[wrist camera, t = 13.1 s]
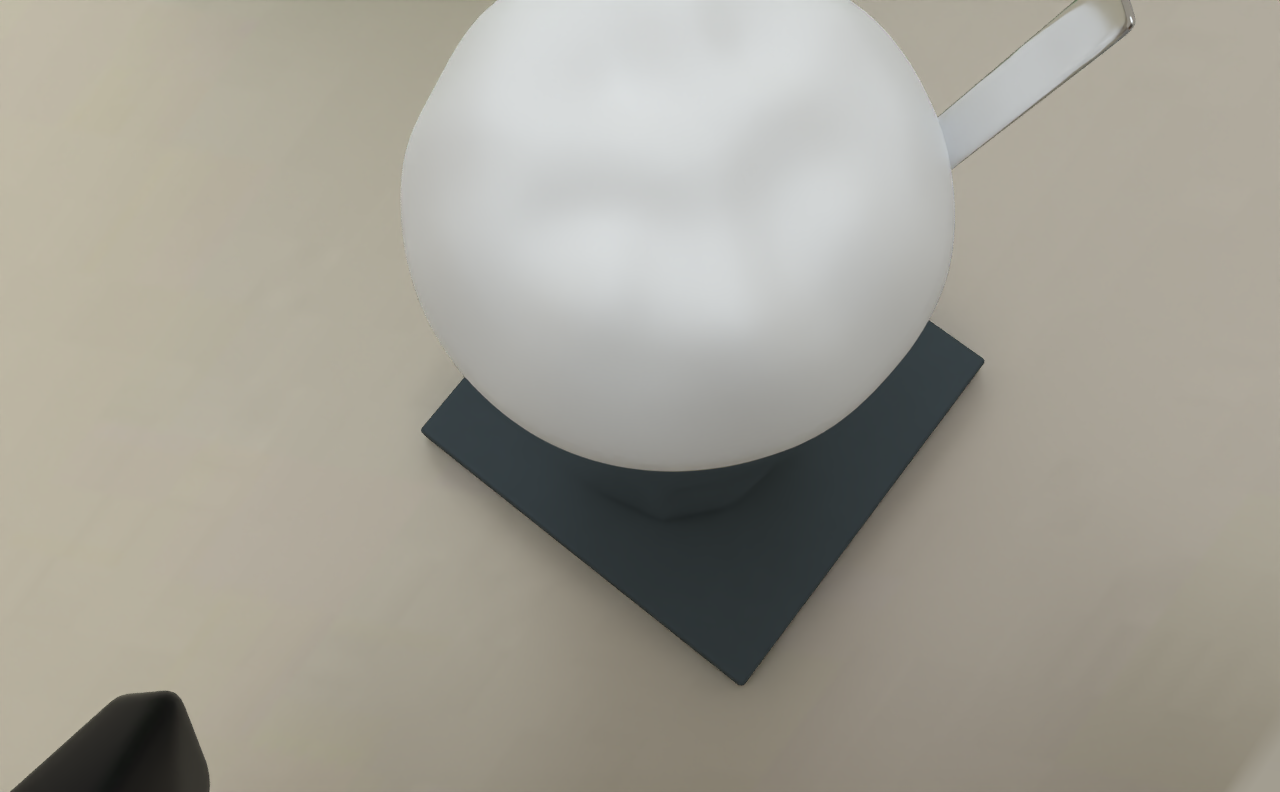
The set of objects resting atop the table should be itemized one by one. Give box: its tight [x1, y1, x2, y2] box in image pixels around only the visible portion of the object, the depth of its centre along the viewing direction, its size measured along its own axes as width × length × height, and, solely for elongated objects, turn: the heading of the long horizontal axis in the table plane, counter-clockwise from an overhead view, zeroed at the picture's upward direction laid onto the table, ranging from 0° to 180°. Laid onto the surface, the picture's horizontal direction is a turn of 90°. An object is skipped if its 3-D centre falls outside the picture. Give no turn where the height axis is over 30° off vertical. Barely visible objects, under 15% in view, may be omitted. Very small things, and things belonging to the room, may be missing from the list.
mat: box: [421, 321, 984, 686], centre depth 18 cm, size 6×6×1 cm
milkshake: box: [401, 0, 1135, 521], centre depth 13 cm, size 4×5×10 cm
